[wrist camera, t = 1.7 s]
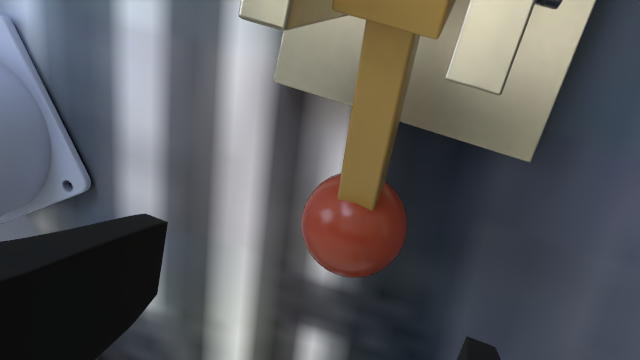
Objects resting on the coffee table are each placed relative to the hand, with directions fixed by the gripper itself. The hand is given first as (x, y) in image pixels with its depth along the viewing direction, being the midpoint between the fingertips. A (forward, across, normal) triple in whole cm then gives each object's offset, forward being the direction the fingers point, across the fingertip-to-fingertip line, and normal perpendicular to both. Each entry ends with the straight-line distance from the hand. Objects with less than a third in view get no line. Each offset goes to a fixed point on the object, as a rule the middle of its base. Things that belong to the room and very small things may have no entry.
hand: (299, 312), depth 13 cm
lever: (+5, 0, -5) cm, 7 cm away
